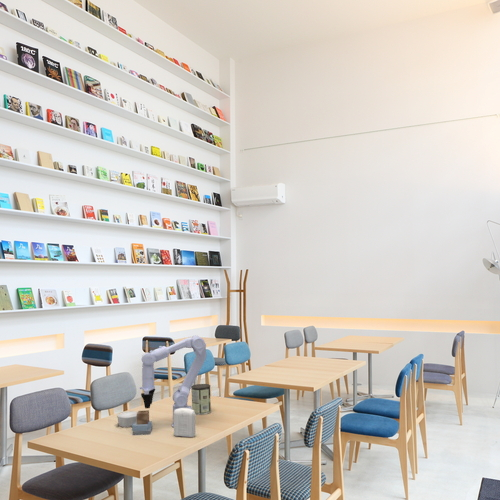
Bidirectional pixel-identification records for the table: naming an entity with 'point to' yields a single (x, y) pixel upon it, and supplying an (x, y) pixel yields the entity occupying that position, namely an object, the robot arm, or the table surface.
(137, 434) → the tower base
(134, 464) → the table surface
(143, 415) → the walnut cube
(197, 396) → the coffee can
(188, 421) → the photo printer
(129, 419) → the ramekin
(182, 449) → the table surface
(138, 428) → the tower top
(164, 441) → the table surface
